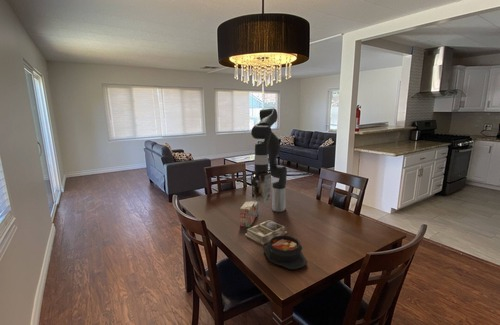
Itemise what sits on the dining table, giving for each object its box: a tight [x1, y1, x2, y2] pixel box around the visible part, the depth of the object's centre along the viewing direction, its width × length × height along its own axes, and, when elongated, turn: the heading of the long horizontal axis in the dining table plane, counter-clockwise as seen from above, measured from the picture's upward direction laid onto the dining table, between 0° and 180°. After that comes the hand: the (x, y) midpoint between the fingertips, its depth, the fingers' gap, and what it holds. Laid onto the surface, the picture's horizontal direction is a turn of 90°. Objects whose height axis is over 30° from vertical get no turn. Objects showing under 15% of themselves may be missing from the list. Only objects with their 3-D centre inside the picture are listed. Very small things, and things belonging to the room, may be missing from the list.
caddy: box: [244, 219, 288, 246], centre depth 150 cm, size 20×15×5 cm
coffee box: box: [251, 170, 272, 204], centre depth 142 cm, size 9×6×16 cm
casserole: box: [263, 235, 308, 270], centre depth 126 cm, size 25×19×8 cm
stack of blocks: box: [239, 200, 259, 228], centre depth 169 cm, size 21×6×12 cm, turn 164°
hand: (261, 191), depth 142 cm, fingers closed on coffee box, 6 cm apart
